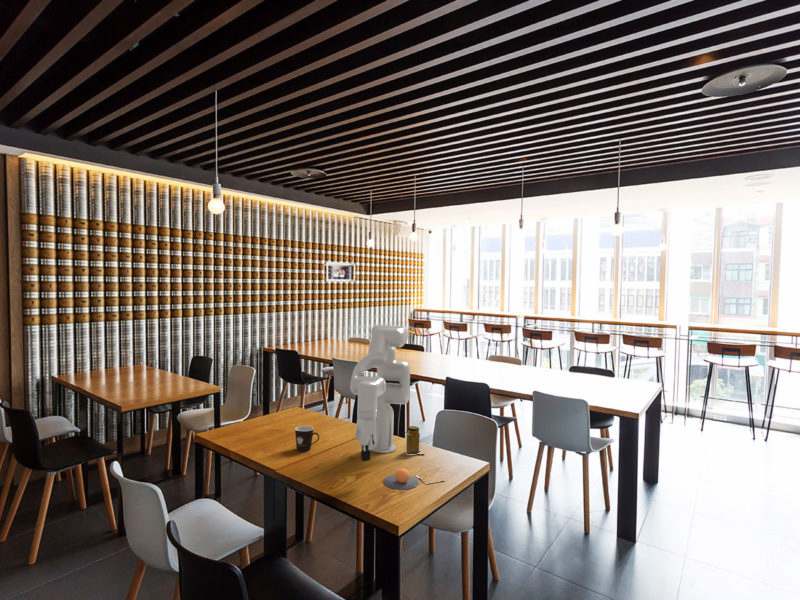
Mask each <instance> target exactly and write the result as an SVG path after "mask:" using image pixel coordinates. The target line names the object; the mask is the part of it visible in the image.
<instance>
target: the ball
mask: <svg viewBox="0 0 800 600" xmlns="http://www.w3.org/2000/svg"><path fill="white" fill-rule="evenodd" d="M394 475H395V478H396V480H397V481H398V482H399V483H405V482H407V481H408V479H409V476H410V473H409V471H408V470H407V469H406V468H404V467H403V468H401V467H400V468H398V469H396V471H395V474H394Z"/></svg>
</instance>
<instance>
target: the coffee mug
mask: <svg viewBox="0 0 800 600" xmlns="http://www.w3.org/2000/svg"><path fill="white" fill-rule="evenodd" d="M314 430H315V428H314V427H313V426H310V425H300V426H296V427H295V428H294V433H295V445H296V451H297V452H298V451H299V453H307V452H306V451H308V452H310V451H311V449H312V445H314V444H315V443H317V442H318V441H320V435H319V433H318V432H314ZM314 435H317V439H316V440H315V441H314V442H313V437H314ZM309 450H310V451H309Z"/></svg>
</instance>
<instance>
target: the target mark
mask: <svg viewBox="0 0 800 600" xmlns="http://www.w3.org/2000/svg"><path fill="white" fill-rule="evenodd" d="M418 481H419V479H418V478H417V477H415V476H412V475H409V479H408V481H407V482H405V483H399V482H398V481H397V480H396V478H395V474H391V475H388V476H387V477H384V479H383V484H384V485H385V486H386V487H388V488H390V489H393V490H399V491H404V490H406V491H407V489H408V490H412V488H413V489H415V488H417V487H416V486H415V485H418V484H419V485H420V482H419V483H418ZM419 485H418V486H419ZM414 487H415V488H414Z"/></svg>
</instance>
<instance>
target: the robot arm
mask: <svg viewBox="0 0 800 600" xmlns="http://www.w3.org/2000/svg"><path fill="white" fill-rule="evenodd" d="M370 334H371V338H370V343H369V346H368V347H369V348H368V352H367V355H366V356H364V357H363V358H362V359H360V360H359V362H357V363H356V365H355V366H354V367H353V370H352V374H351V379H350V385H349V386H350V387H349V388H350V392H351V393H352V394H353V395H357V407H356V408H357V409H356V410H357V411H356V414H357V417H356V418H357V419H356V427H355V439H356V440H357V441H358V442H359V443H360V449H361V450H360V452H361V453H360V460H361V461H362V462H367V461H371V451H372V452H373V453H374V452H375V453H378V454H380V453H381V454H389V453H393V452H395V451H396V450H397V446H396V445H395V444H394V424H395V423H394V422H395V421H394V419H395V418H394V417H395V414H394V408H393V407H392V406H391V404H394V405H406V404H407V403H408V402H409V400H410V391H411V390H410V389H411V387H410V386H411V367H410V364H409V363H408V362H407V361H404V360H396V348H402V347H404V345H405V344H406V343H407V342H408V339H409V331H408V328H407V327H406V326H404V325H389V324H387V325H386V324H377V325H373V326H372V327H371V331H370ZM374 368H376V375H377V376H369V375H367V376H366V375H362V374H363V373H364V372H367V371H369V370H370V369H374ZM386 381H391V382H386ZM392 381H393V382H392ZM394 382H395V383H394ZM396 382H399V383H396Z"/></svg>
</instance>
